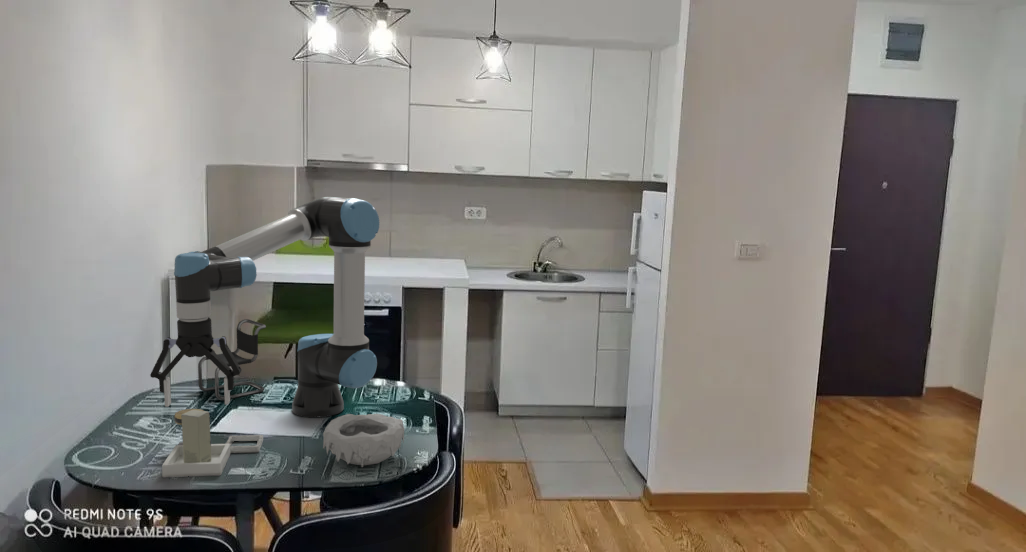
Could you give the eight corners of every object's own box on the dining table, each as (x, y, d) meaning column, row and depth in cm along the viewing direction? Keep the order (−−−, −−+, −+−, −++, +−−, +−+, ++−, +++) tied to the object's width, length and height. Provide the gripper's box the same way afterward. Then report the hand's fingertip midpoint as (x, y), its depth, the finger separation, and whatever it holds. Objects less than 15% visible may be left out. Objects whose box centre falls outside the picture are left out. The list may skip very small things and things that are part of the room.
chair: (268, 391, 248) (267, 325, 245) (216, 402, 235) (214, 332, 232) (249, 382, 257) (248, 318, 253) (198, 392, 244) (196, 325, 241)
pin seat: (263, 440, 205) (263, 434, 205) (258, 452, 197) (258, 446, 197) (230, 441, 204) (229, 435, 203) (224, 453, 195) (224, 447, 195)
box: (212, 461, 188) (211, 411, 186) (199, 468, 184) (198, 417, 182) (194, 458, 190) (193, 408, 188) (181, 464, 186) (180, 413, 184)
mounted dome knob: (208, 443, 201) (208, 408, 200) (202, 454, 194) (202, 417, 193) (178, 444, 200) (177, 408, 198) (171, 455, 193) (170, 418, 191)
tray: (230, 454, 194) (230, 443, 194) (220, 475, 182) (220, 463, 181) (176, 456, 192) (175, 445, 192) (162, 477, 179) (162, 465, 179)
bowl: (410, 472, 187) (411, 433, 186) (324, 479, 182) (324, 439, 180) (398, 442, 207) (399, 407, 206) (321, 448, 201) (321, 411, 200)
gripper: (251, 314, 187) (254, 397, 191) (142, 315, 183) (147, 400, 186) (246, 320, 180) (249, 406, 184) (133, 322, 176) (138, 411, 179)
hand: (198, 404), depth 185 cm, fingers open, 13 cm apart
